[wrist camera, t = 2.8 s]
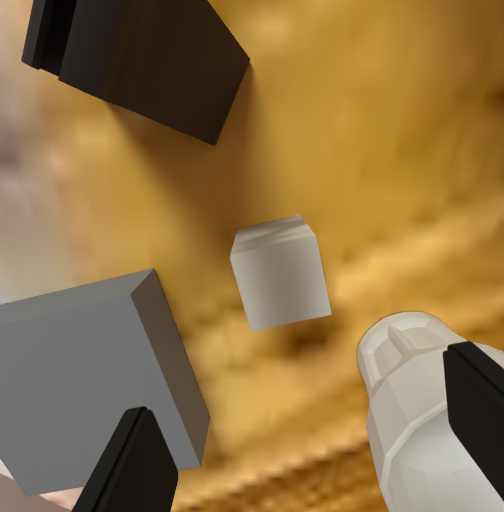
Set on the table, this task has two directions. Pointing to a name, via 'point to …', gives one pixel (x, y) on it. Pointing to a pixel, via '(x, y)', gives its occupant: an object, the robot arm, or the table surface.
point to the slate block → (92, 379)
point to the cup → (418, 419)
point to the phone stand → (142, 57)
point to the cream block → (279, 273)
